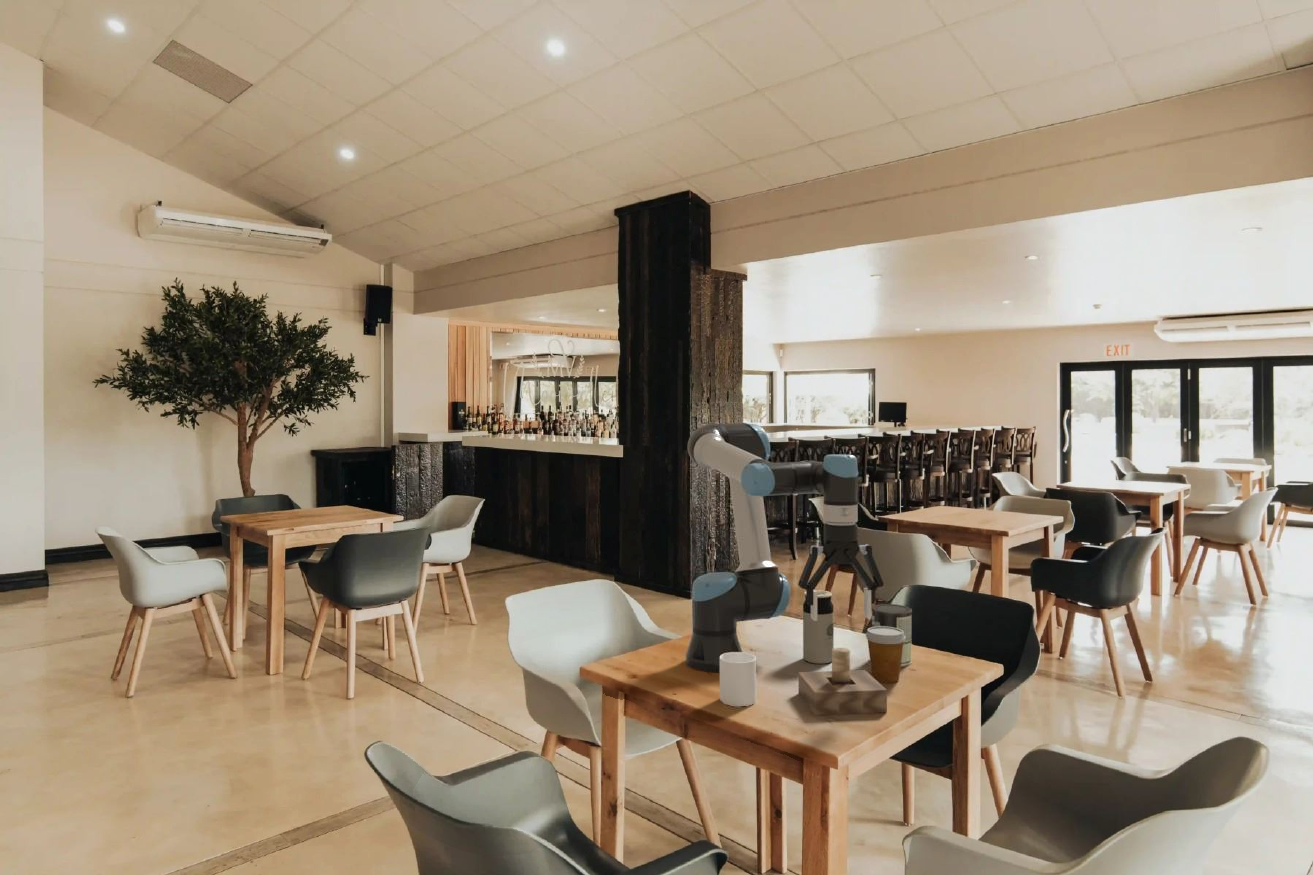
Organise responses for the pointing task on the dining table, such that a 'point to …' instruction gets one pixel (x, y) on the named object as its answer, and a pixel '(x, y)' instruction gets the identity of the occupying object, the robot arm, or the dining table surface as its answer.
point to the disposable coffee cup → (885, 652)
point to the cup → (738, 678)
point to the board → (842, 693)
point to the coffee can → (895, 624)
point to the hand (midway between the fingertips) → (840, 618)
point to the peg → (840, 666)
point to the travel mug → (818, 630)
